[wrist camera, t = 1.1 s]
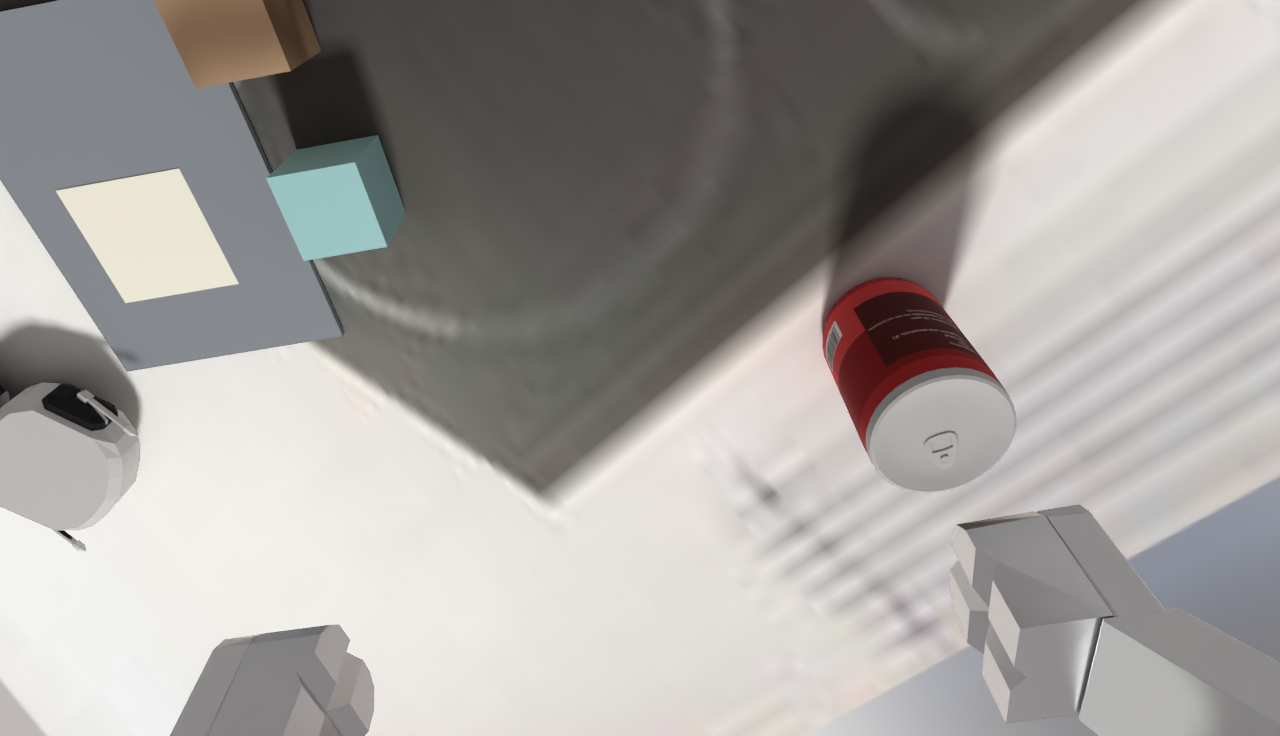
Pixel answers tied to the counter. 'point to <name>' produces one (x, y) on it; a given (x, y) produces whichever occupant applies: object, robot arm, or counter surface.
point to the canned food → (916, 387)
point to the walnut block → (238, 37)
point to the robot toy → (64, 456)
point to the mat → (148, 188)
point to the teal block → (338, 198)
